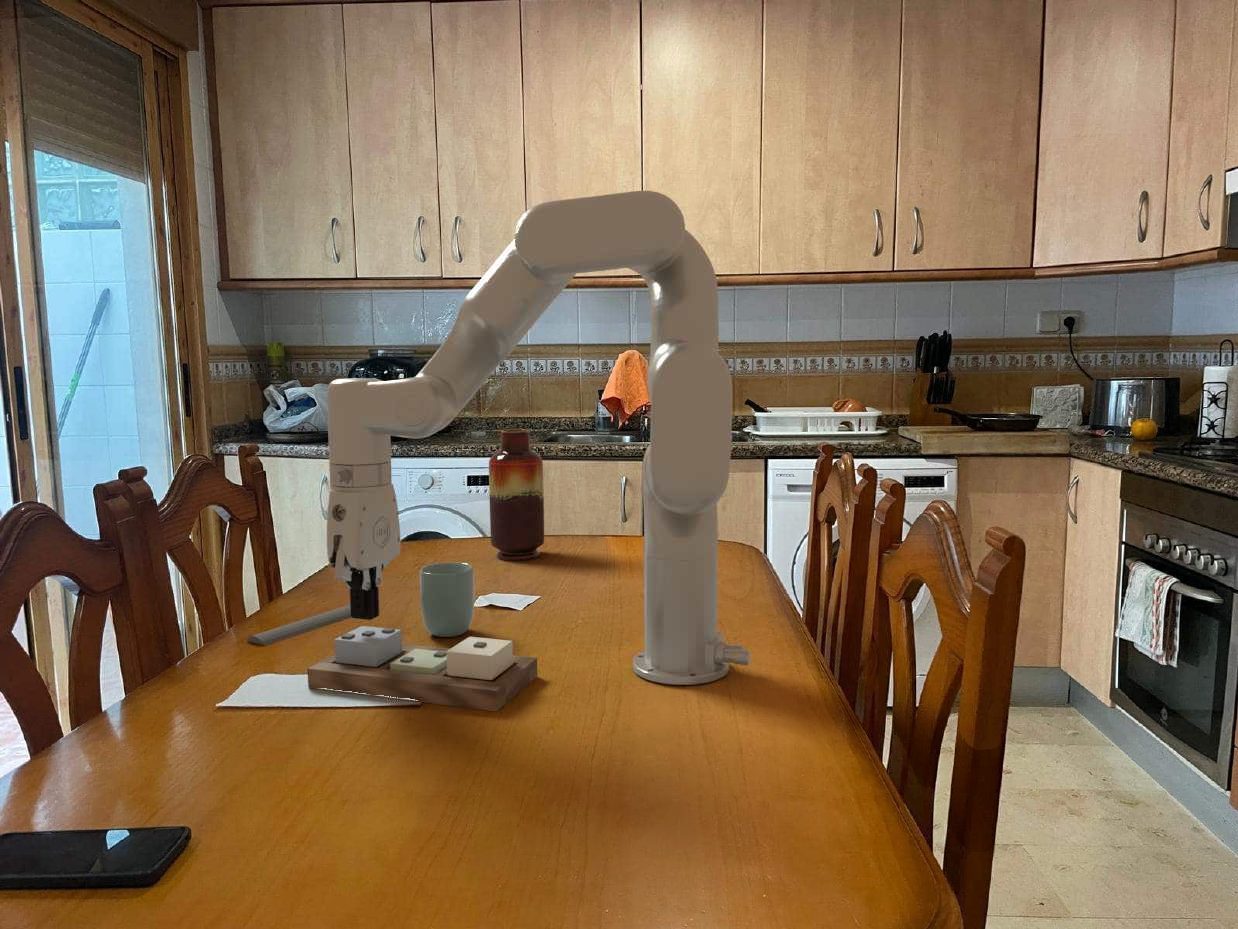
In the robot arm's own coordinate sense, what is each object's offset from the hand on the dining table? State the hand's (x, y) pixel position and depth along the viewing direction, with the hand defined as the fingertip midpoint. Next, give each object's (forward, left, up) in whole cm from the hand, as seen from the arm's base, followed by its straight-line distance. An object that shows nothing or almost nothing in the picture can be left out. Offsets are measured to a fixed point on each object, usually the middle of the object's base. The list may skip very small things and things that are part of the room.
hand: (365, 617), depth 116 cm
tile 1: (-16, 0, -5) cm, 17 cm away
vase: (+11, -70, -8) cm, 71 cm away
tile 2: (-8, 0, -8) cm, 11 cm away
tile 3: (0, 0, -5) cm, 5 cm away
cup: (-1, -19, -8) cm, 21 cm away
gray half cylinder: (+21, -16, -9) cm, 28 cm away
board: (-8, 0, -8) cm, 11 cm away
